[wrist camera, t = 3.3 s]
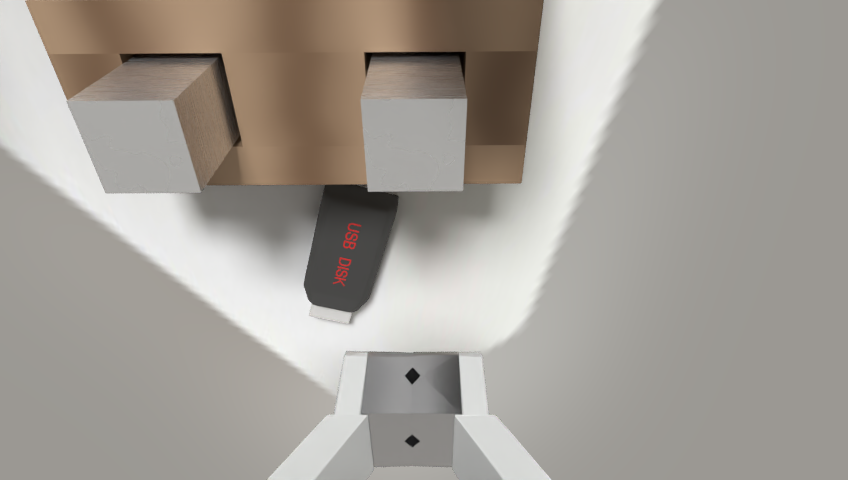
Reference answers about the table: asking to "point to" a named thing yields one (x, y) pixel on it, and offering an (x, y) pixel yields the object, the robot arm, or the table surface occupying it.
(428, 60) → the peg right
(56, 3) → the walnut block
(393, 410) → the robot arm
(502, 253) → the table surface
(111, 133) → the peg left
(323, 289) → the usb drive
